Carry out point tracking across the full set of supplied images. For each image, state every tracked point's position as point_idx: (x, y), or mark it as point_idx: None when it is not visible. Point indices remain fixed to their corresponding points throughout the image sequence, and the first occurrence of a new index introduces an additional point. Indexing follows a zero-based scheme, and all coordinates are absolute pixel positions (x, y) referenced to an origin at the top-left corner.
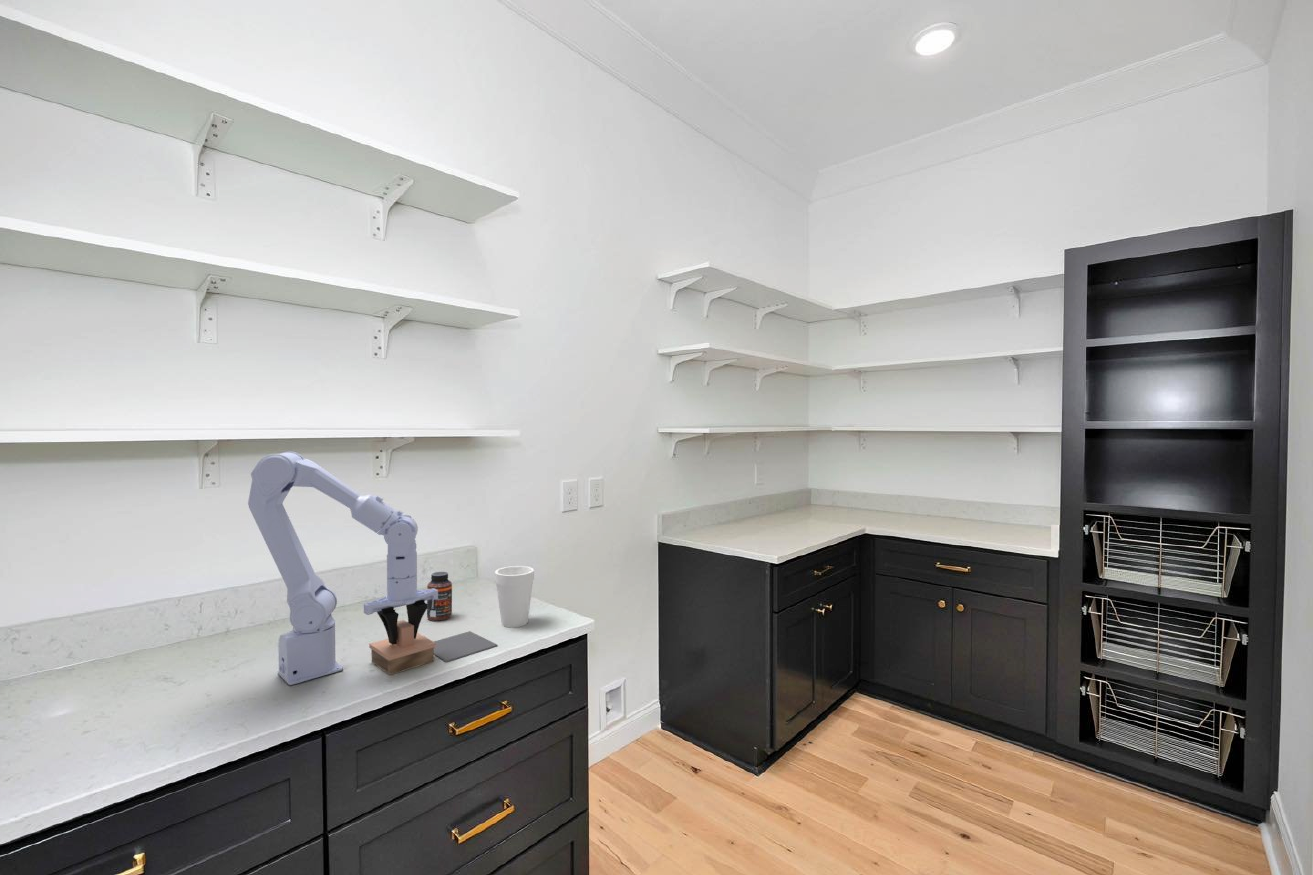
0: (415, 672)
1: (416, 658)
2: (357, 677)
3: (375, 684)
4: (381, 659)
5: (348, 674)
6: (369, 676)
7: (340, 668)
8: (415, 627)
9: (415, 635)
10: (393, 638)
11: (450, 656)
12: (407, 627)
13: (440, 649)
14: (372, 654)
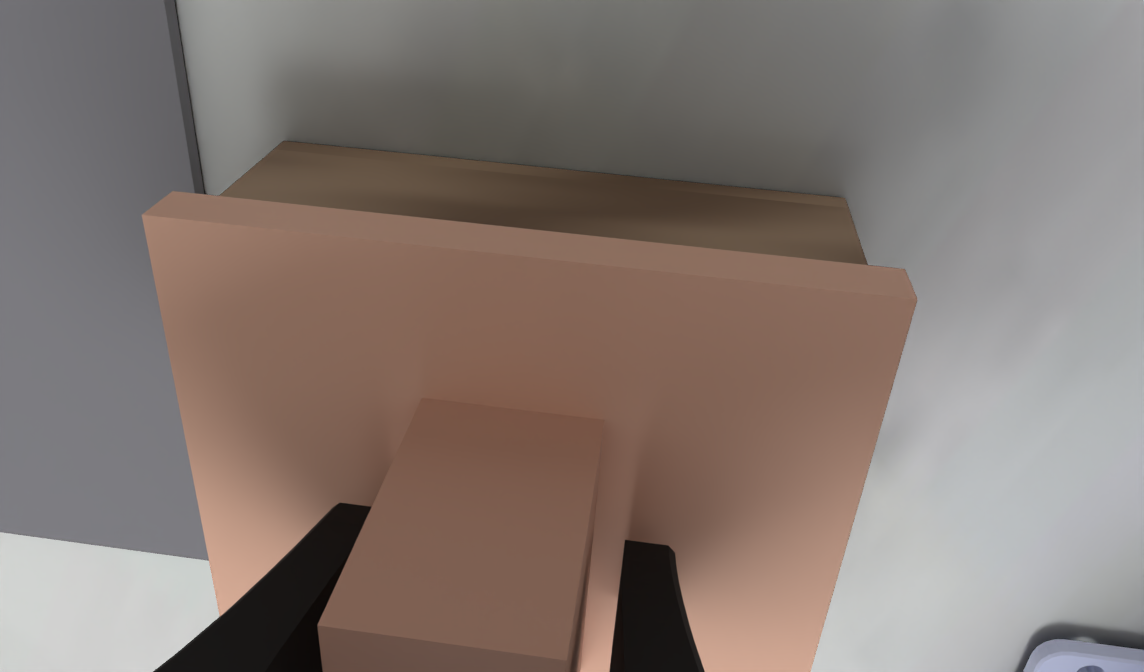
0: (603, 5)
1: (484, 203)
2: (1084, 412)
3: (1133, 78)
4: None
5: (1073, 535)
6: (999, 339)
7: (1074, 658)
8: (284, 616)
9: (329, 528)
10: (678, 605)
11: (74, 63)
12: (448, 638)
13: (116, 338)
14: None
